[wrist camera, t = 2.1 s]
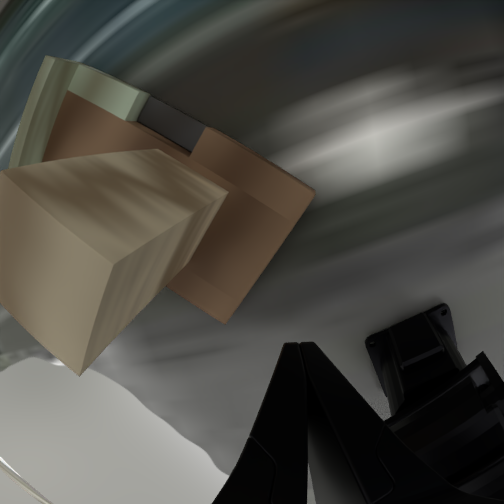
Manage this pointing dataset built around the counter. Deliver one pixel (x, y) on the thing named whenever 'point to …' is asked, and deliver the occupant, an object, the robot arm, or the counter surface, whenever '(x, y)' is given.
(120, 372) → the counter surface
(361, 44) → the counter surface
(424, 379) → the robot arm
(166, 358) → the counter surface
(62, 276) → the beech block
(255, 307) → the counter surface
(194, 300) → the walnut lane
